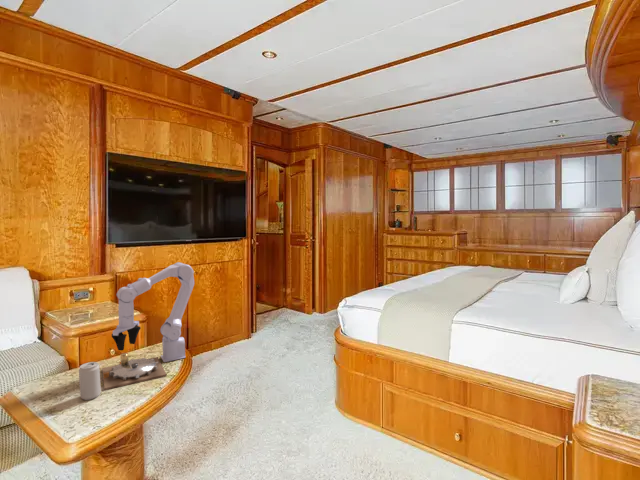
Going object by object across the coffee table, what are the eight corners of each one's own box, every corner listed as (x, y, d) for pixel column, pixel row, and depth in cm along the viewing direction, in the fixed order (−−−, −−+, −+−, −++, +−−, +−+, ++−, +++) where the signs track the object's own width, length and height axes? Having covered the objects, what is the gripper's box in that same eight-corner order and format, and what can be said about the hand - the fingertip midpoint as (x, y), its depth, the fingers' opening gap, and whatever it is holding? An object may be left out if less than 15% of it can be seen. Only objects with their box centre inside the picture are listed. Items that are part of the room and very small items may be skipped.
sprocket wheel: (167, 365, 158) (167, 353, 157) (129, 383, 142) (128, 370, 141) (139, 358, 166) (139, 346, 166) (100, 374, 150) (99, 361, 149)
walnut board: (157, 358, 168) (157, 353, 168) (166, 376, 151) (166, 370, 151) (102, 369, 157) (101, 364, 156) (104, 390, 139) (104, 384, 139)
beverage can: (104, 392, 137) (103, 361, 136) (92, 401, 131) (90, 369, 130) (88, 391, 138) (87, 360, 137) (76, 400, 132) (74, 368, 131)
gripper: (128, 310, 163) (129, 340, 164) (105, 319, 149) (106, 352, 150) (143, 311, 162) (143, 341, 163) (121, 320, 148) (122, 353, 149)
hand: (126, 346), depth 156 cm, fingers open, 7 cm apart
